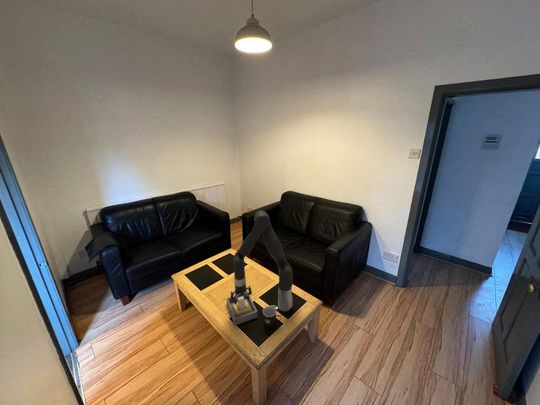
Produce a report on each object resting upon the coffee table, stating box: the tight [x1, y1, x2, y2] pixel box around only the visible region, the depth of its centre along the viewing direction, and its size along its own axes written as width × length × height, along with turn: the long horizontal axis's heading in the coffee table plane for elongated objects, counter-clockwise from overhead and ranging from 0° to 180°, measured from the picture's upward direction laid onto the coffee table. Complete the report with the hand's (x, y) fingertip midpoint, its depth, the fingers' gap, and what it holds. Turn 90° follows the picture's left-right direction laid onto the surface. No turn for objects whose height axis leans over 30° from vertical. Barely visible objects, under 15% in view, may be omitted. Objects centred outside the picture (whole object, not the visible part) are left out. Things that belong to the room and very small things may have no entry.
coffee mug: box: [262, 305, 282, 328], centre depth 140 cm, size 12×9×10 cm
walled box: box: [226, 294, 259, 326], centre depth 152 cm, size 16×20×5 cm
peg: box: [238, 296, 245, 311], centre depth 151 cm, size 4×4×9 cm
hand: (241, 301), depth 150 cm, fingers open, 8 cm apart
